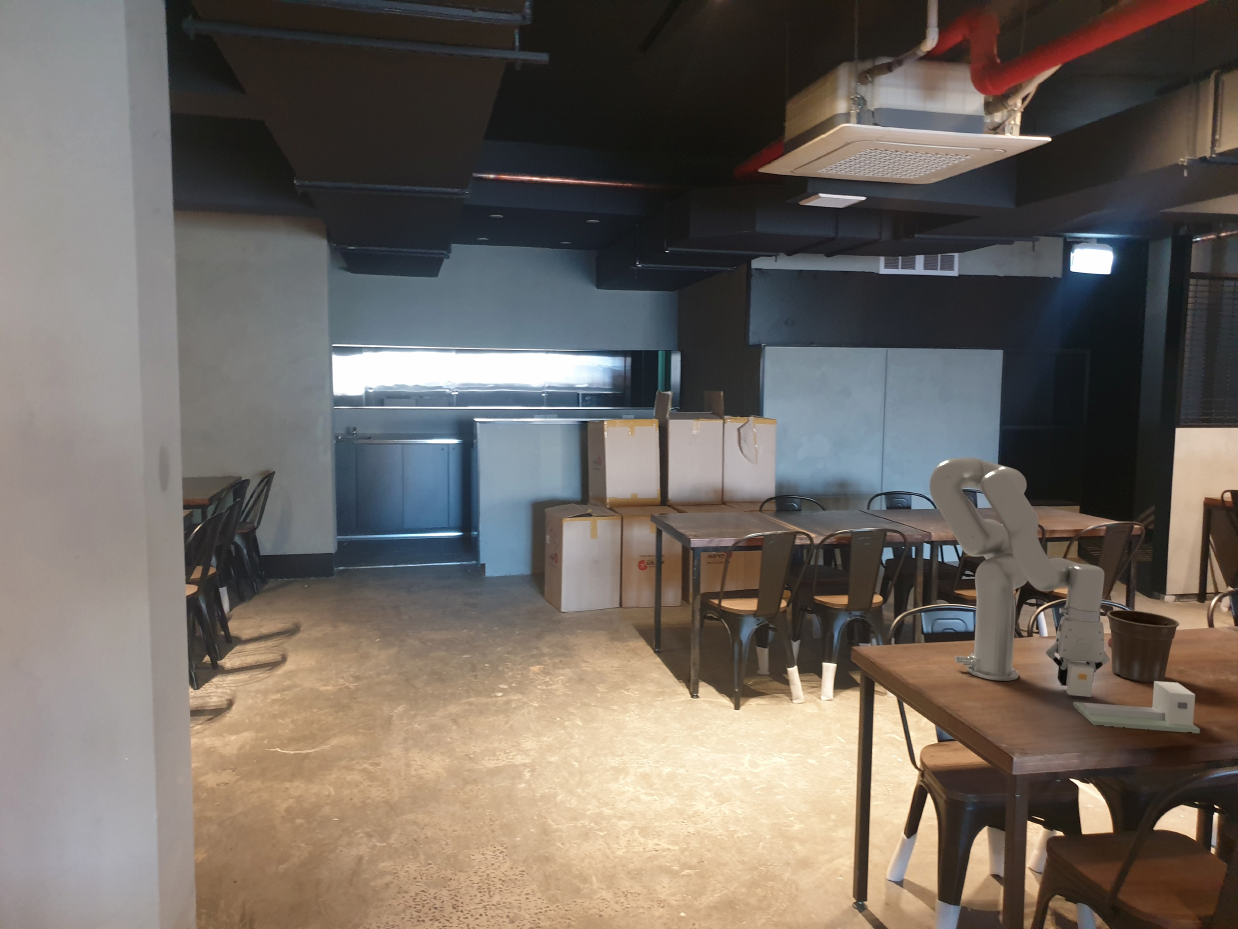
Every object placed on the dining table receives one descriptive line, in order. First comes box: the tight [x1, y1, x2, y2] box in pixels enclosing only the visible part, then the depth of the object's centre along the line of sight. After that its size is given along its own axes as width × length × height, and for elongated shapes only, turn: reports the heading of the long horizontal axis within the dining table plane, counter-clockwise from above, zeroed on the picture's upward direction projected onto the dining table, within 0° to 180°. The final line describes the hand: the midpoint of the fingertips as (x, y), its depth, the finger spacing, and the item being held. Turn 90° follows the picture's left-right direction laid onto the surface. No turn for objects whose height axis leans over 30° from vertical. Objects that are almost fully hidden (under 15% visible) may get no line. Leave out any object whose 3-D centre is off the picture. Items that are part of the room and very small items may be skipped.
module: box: [1057, 660, 1095, 698], centre depth 207 cm, size 5×9×7 cm, turn 170°
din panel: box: [1073, 681, 1201, 734], centre depth 192 cm, size 22×12×8 cm, turn 80°
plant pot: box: [1107, 609, 1180, 684], centre depth 222 cm, size 16×16×16 cm
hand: (1074, 684), depth 208 cm, fingers closed on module, 5 cm apart
